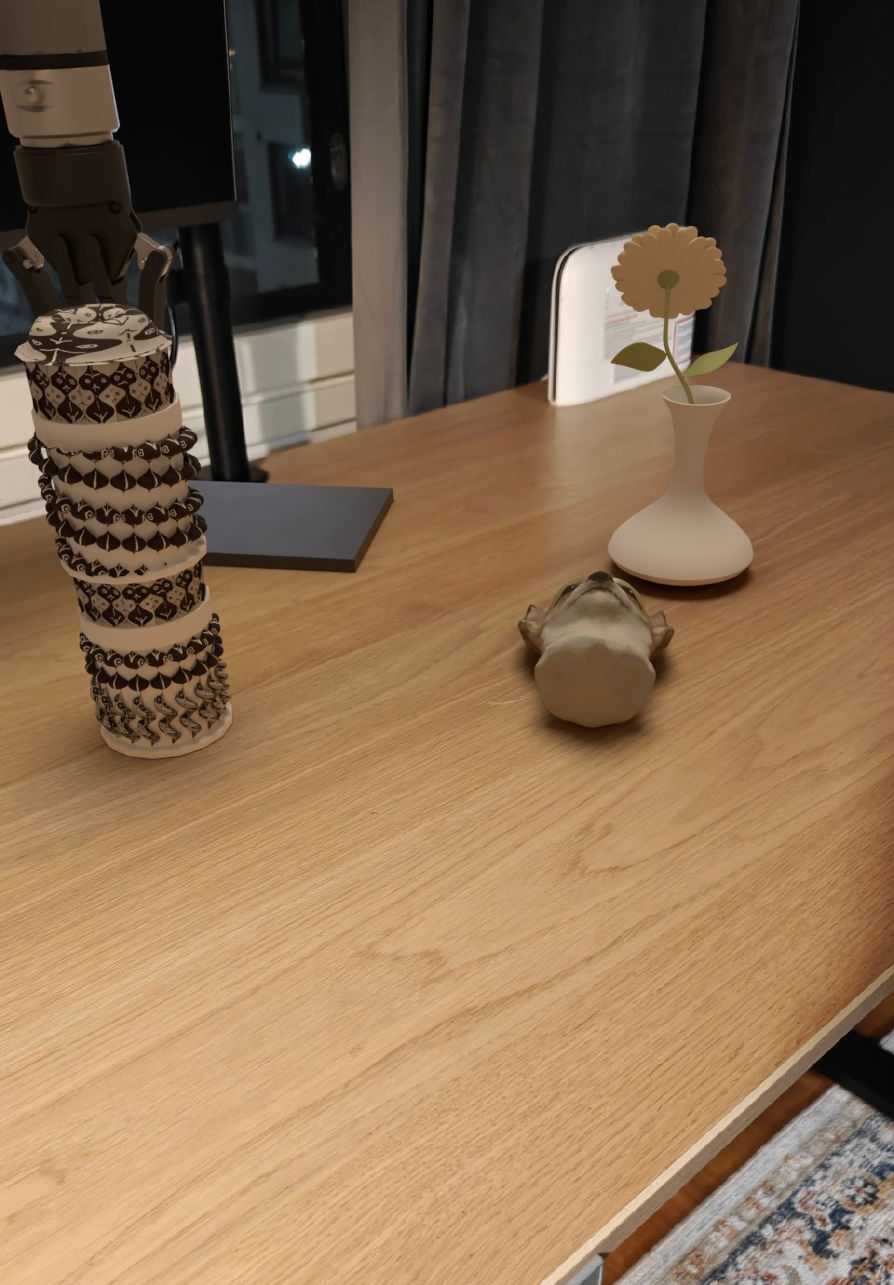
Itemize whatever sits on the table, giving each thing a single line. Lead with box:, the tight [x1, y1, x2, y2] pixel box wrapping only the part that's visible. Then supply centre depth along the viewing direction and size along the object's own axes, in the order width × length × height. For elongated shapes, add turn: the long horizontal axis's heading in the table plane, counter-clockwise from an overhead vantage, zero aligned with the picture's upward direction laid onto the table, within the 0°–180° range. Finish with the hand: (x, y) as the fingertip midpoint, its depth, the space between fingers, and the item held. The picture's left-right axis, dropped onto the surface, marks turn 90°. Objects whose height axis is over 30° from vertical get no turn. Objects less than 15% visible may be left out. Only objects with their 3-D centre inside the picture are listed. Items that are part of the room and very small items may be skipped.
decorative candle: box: [14, 303, 234, 760], centre depth 66 cm, size 9×9×25 cm
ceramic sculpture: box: [517, 570, 675, 729], centre depth 74 cm, size 11×9×15 cm
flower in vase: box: [607, 222, 754, 587], centre depth 84 cm, size 13×11×25 cm
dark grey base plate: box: [187, 479, 395, 574], centre depth 99 cm, size 23×16×3 cm
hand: (129, 468), depth 93 cm, fingers closed
